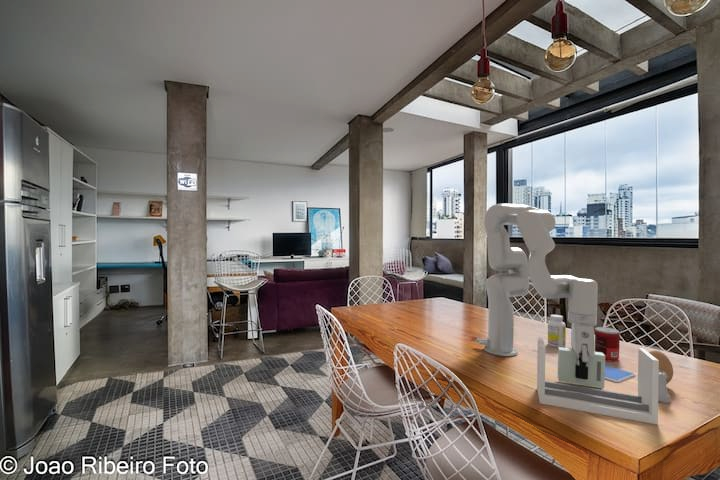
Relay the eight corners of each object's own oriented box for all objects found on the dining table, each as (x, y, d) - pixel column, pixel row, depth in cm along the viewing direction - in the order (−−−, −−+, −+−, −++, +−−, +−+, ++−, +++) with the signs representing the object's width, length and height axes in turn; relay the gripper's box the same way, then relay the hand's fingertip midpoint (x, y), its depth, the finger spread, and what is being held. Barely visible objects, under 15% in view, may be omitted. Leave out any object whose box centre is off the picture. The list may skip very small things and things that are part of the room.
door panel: (558, 381, 107) (559, 349, 107) (557, 377, 110) (558, 346, 110) (604, 388, 102) (605, 355, 102) (601, 384, 105) (602, 352, 105)
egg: (642, 378, 112) (642, 345, 112) (673, 385, 107) (673, 350, 107) (640, 385, 107) (640, 350, 106) (672, 392, 101) (673, 356, 101)
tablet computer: (557, 364, 125) (557, 361, 125) (577, 359, 131) (577, 355, 131) (617, 385, 108) (617, 380, 108) (636, 377, 114) (636, 373, 114)
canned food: (620, 357, 131) (620, 329, 131) (617, 363, 125) (618, 333, 125) (596, 352, 136) (596, 325, 136) (593, 357, 131) (593, 329, 130)
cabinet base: (539, 403, 94) (540, 346, 94) (537, 388, 103) (537, 336, 103) (657, 424, 84) (658, 360, 84) (643, 406, 93) (643, 348, 93)
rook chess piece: (645, 396, 99) (646, 369, 99) (659, 395, 99) (660, 368, 99) (660, 403, 94) (661, 375, 94) (675, 403, 95) (675, 375, 95)
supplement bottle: (560, 343, 149) (561, 314, 148) (568, 348, 142) (568, 317, 142) (544, 342, 149) (545, 313, 149) (551, 347, 143) (552, 317, 143)
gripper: (603, 326, 96) (601, 389, 97) (590, 313, 111) (588, 368, 112) (572, 323, 99) (570, 384, 100) (564, 311, 114) (562, 364, 115)
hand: (580, 375), depth 106 cm, fingers closed on door panel, 3 cm apart
